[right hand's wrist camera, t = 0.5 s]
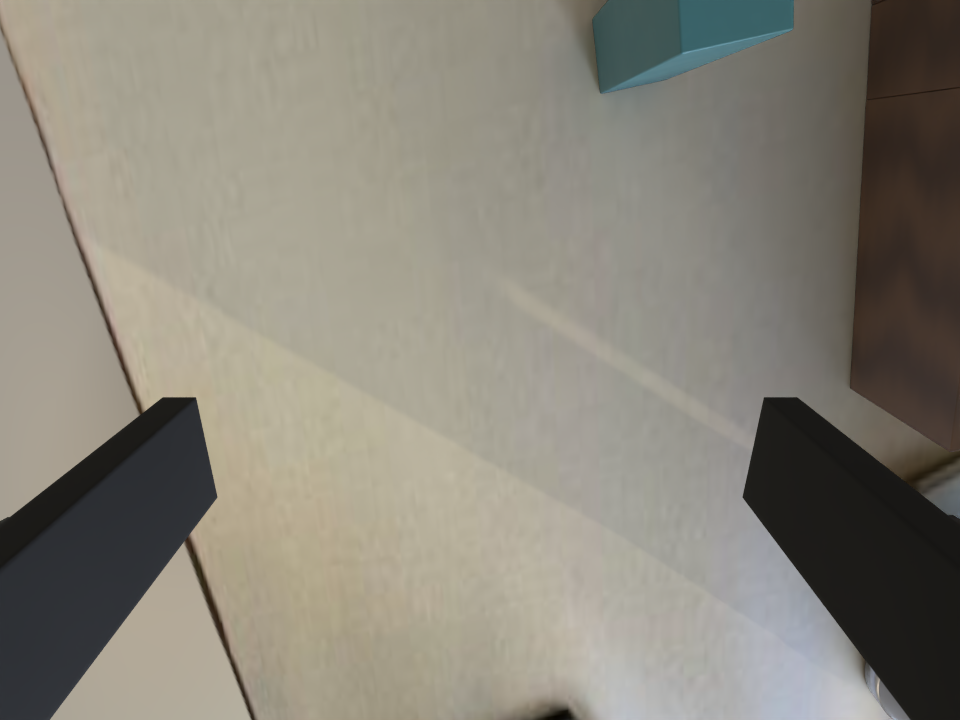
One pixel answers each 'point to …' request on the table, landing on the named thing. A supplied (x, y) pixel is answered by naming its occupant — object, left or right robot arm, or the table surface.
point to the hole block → (911, 220)
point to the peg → (678, 35)
